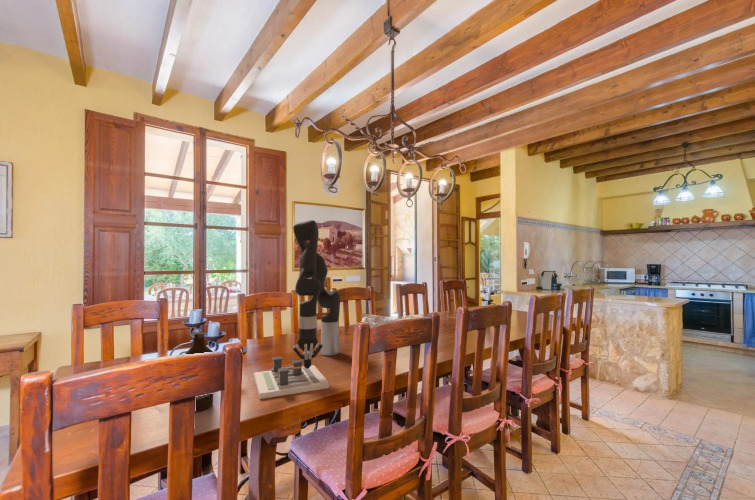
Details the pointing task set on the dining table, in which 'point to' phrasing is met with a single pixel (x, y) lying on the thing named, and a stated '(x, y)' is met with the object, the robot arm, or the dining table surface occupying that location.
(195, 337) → the olive oil
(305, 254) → the robot arm
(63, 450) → the dining table surface
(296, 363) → the breaker handle
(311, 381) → the switch board
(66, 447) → the dining table surface
